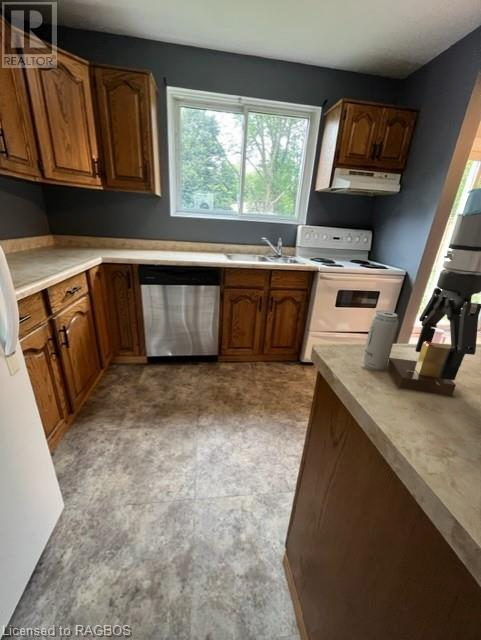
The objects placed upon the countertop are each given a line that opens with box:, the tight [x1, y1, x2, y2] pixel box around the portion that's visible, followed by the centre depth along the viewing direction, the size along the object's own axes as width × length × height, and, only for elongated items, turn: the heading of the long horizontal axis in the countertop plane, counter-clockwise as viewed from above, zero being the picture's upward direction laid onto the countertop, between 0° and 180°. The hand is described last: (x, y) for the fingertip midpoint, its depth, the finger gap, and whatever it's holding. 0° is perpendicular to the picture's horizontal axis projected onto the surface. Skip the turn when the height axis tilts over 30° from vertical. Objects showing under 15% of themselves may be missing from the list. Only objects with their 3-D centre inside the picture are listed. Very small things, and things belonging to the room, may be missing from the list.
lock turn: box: [415, 341, 451, 378], centre depth 63 cm, size 6×2×8 cm, turn 78°
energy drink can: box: [361, 310, 399, 372], centre depth 70 cm, size 6×6×15 cm
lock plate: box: [386, 357, 457, 397], centre depth 65 cm, size 12×11×3 cm
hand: (432, 364), depth 63 cm, fingers open, 12 cm apart
